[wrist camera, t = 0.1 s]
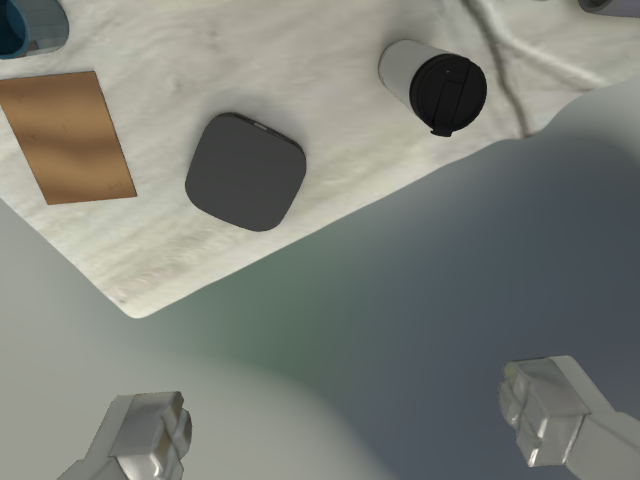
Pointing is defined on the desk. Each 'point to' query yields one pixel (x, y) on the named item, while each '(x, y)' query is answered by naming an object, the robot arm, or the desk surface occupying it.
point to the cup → (31, 27)
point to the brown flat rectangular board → (67, 137)
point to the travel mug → (434, 84)
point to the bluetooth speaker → (612, 7)
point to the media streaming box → (245, 173)
